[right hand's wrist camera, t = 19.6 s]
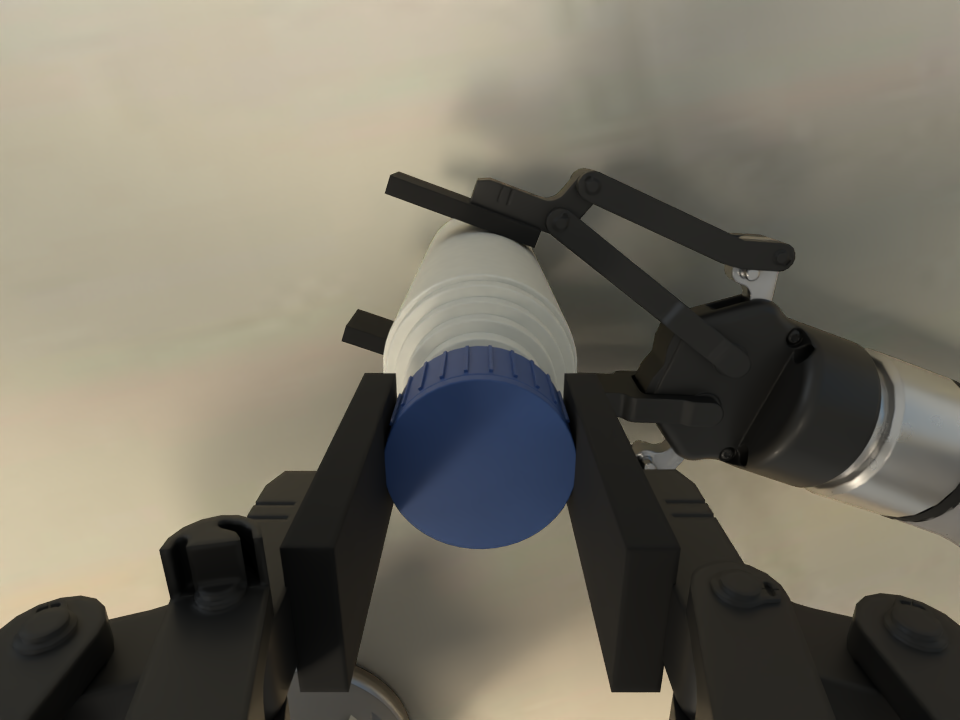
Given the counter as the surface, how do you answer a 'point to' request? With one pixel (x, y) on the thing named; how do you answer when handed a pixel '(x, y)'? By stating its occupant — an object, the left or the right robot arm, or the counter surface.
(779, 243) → the left robot arm
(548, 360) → the bottle
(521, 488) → the cap
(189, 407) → the counter surface
